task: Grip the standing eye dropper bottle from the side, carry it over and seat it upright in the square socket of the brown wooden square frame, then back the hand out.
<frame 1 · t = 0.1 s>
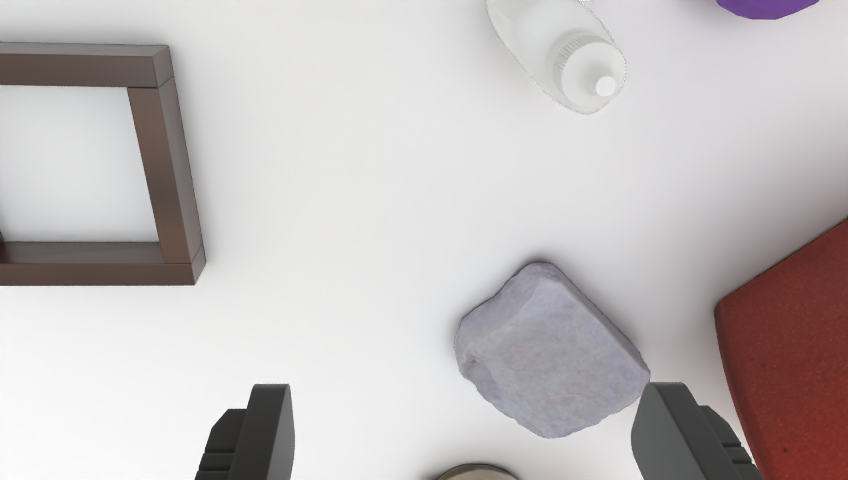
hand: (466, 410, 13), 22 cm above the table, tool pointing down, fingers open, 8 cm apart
brown wooden square frame: (69, 163, 33), on the table
eye dropper bottle: (531, 22, 31), on the table
stone block: (537, 341, 41), on the table
flower pot: (829, 305, 41), on the table
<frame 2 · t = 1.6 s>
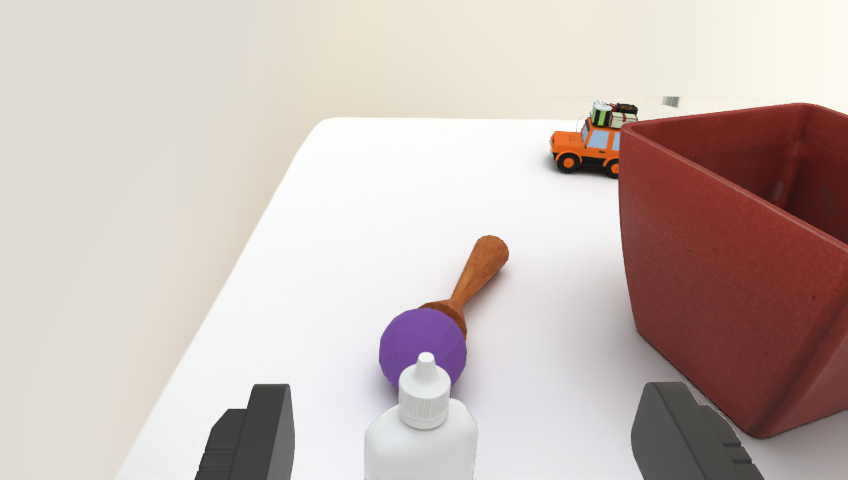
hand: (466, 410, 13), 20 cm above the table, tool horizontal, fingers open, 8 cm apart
toy car: (592, 168, 78), on the table
purple maraca: (454, 329, 48), on the table
flower pot: (747, 363, 46), on the table
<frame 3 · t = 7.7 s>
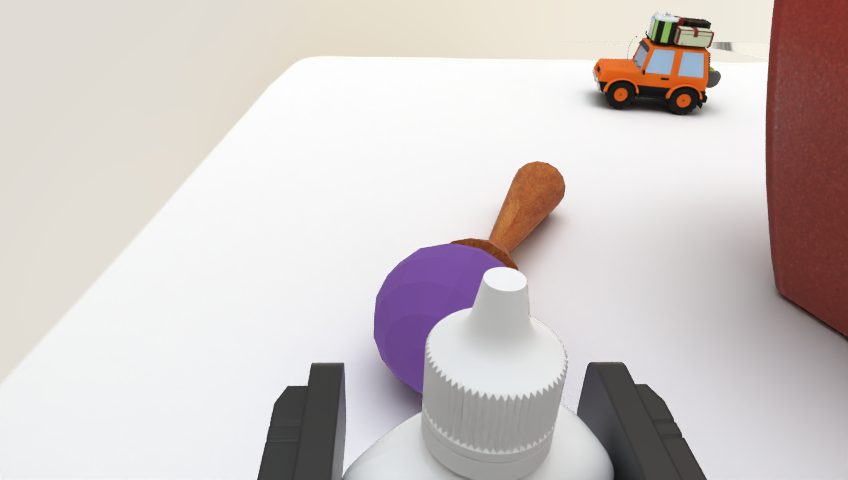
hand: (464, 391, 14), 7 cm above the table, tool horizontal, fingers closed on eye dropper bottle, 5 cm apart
toy car: (648, 105, 61), on the table
purple maraca: (492, 292, 31), on the table
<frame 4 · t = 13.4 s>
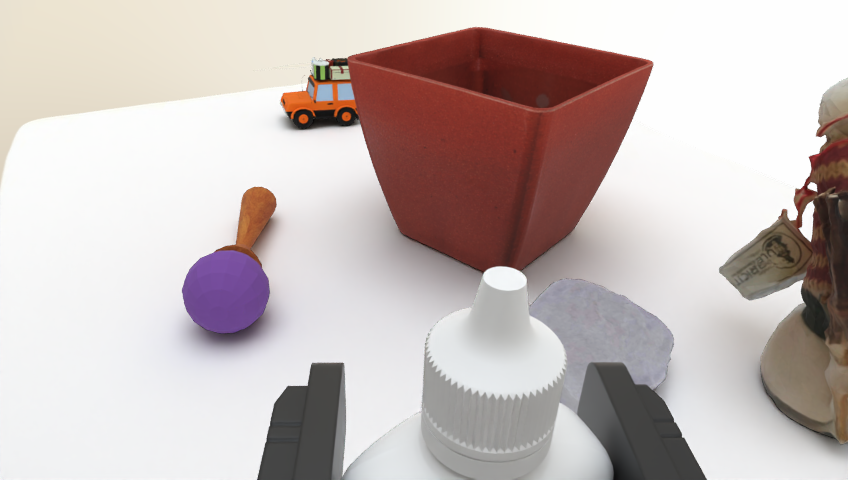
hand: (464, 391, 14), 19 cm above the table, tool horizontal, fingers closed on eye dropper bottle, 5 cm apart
toy car: (325, 121, 85), on the table
stone block: (582, 376, 42), on the table
purple maraca: (246, 274, 51), on the table
flower pot: (486, 234, 58), on the table
figurine: (800, 387, 41), on the table
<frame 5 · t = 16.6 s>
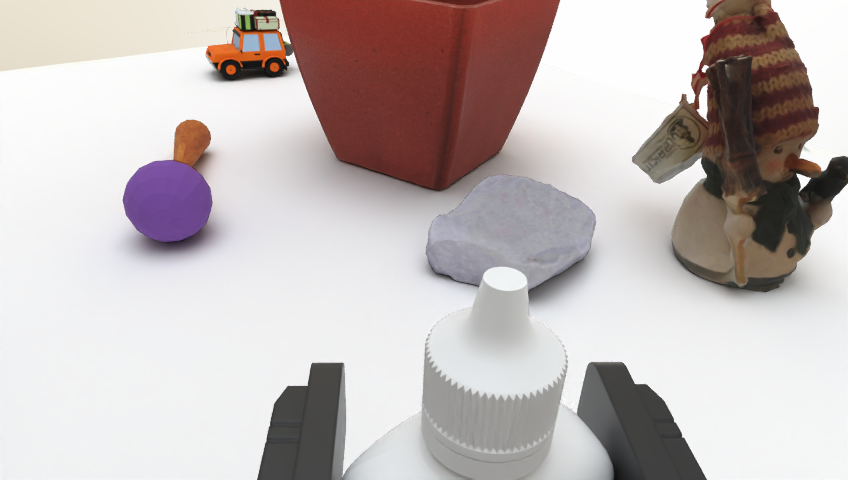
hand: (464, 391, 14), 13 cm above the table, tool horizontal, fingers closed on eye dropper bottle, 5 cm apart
toy car: (253, 74, 85), on the table
stone block: (516, 258, 45), on the table
purple maraca: (185, 197, 51), on the table
flower pot: (419, 157, 61), on the table
figurine: (706, 255, 46), on the table
when the fingers open (7 cm above the table, at t = 19.3 s): eye dropper bottle stays where it is, resting in brown wooden square frame.
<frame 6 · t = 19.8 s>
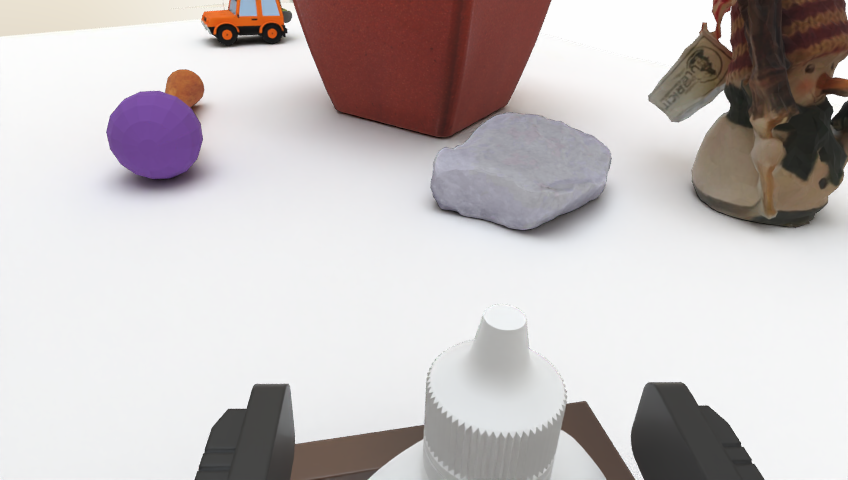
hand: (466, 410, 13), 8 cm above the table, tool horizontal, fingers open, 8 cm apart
toy car: (250, 42, 83), on the table
stone block: (526, 197, 42), on the table
purple maraca: (176, 143, 49), on the table
flower pot: (422, 111, 58), on the table
figurine: (729, 195, 44), on the table
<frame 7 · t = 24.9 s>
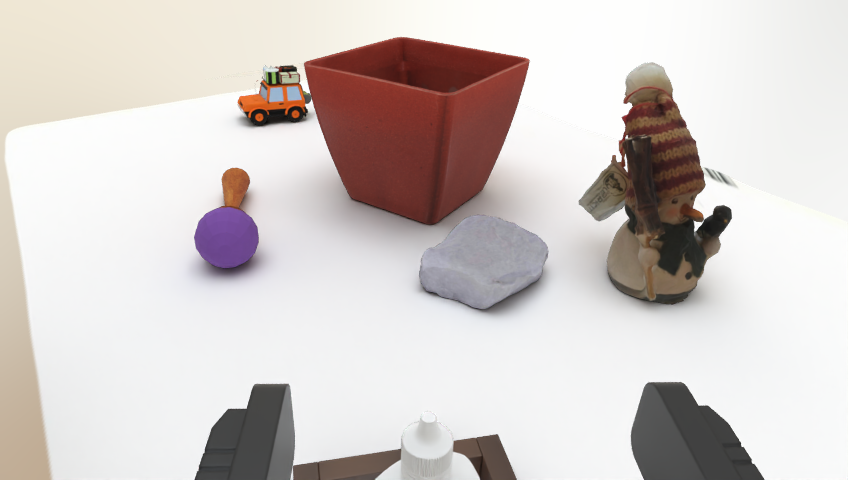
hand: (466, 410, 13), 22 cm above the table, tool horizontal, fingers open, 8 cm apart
toy car: (277, 119, 100), on the table
stone block: (487, 279, 59), on the table
purple maraca: (234, 231, 66), on the table
flower pot: (416, 196, 76), on the table
figurine: (634, 276, 61), on the table
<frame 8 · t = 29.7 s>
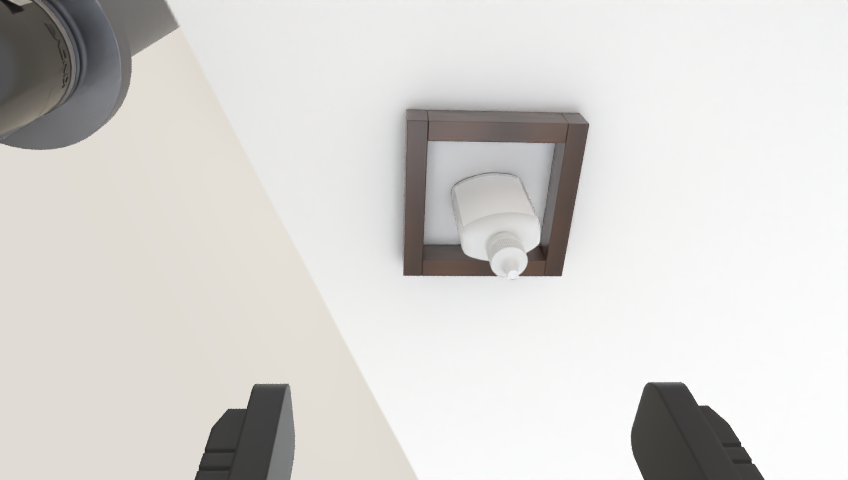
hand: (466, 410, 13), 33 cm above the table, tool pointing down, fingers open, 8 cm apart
brown wooden square frame: (486, 190, 47), on the table
eye dropper bottle: (485, 191, 48), resting in brown wooden square frame
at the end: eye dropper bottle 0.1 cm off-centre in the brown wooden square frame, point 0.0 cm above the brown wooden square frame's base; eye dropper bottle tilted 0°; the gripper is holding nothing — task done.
